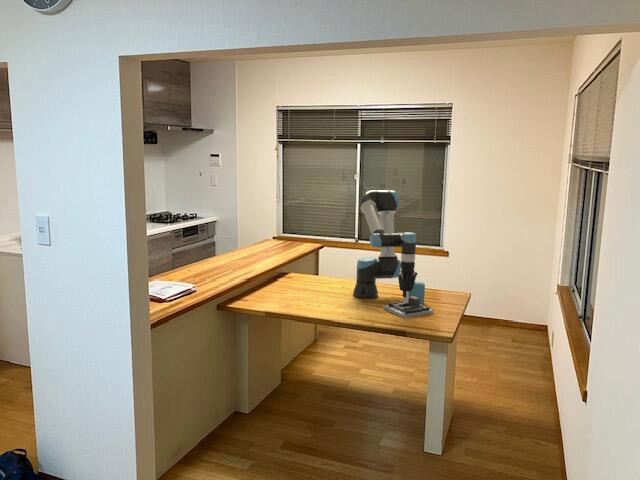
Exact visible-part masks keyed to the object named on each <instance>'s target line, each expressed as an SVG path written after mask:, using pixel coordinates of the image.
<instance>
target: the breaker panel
mask: <svg viewBox="0 0 640 480" xmlns="http://www.w3.org/2000/svg"><path fill="white" fill-rule="evenodd" d="M383 310H385V311H386V312H389V313H392V314H394V315H396V316H398V317H400V318H402V319H408V318H413V317H419V316H420V317H421V316H425V315H426V316H427V315H430V314H433V313H434V309H432V308H431V307H430V306H425V305H424V304H420V305H417V306H411V307H410V306H408V303H404V302H403V300H402V301H396V302H390V303H388V304H387V305H384V306H383Z"/></svg>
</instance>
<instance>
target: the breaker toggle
mask: <svg viewBox="0 0 640 480" xmlns="http://www.w3.org/2000/svg"><path fill="white" fill-rule="evenodd" d="M417 305H420V298H417V297H415V296H411V297H409V301H408V306H410V307H411V306H417Z"/></svg>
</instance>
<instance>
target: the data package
mask: <svg viewBox="0 0 640 480" xmlns="http://www.w3.org/2000/svg"><path fill="white" fill-rule="evenodd" d="M425 293H426V284H425V282H423V281H422V282H419V281H415V283H414V287H413V290H411V292H410V296H409V297H411V296H415V297H417V298H420V304H422V305H424V303H425Z"/></svg>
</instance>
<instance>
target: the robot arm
mask: <svg viewBox="0 0 640 480" xmlns="http://www.w3.org/2000/svg"><path fill="white" fill-rule="evenodd" d="M399 198H400V197H399V195H398V193H397V192H396V191H395V190H391V189H385V190H382V189H381V190H379V189H376V190H375V189H372V190H368V191H366V192H365V193H364V194H362V196H361V197H360V200H359V208H360V211H361V212H362V213H363V215H364V217H365V220H366V222H367V225H368V228H369V231H370V233H371V234H370V236H369V243H370V244H369V245H370V246H371V247H372V248H380V254H379V255H378V257H375V256H364V257H361V258H359V259H358V260H357V263H356V283H355V286H354V289H353V292H352V296H353V297H355V298H359V299H366V300H368V299H369V300H370V299H376V298H378V296H379V291H378V288H377V284H376V282H377V281H376V280H378V279H382V280H383V279H396V278H397V279H398V280H397V281H398V286H399V290H400V291H402V297H403V298H402V301H403V302H404V303H408V301H409V296H410V292H411V290H413V287H414V283H415V282H416V278H417V276H418V272H416V271H415V267H416V262H415V261H416V249H417V247H416V246H417V234H416V233H415V232H412V231H411V232H410V231H408V232H401V231H399V232H397V233H395V217H394V216H395V213H397V210H398V209H399V206H400V199H399ZM395 248H401V255H400V258H398V255H397V254H396V251H395Z"/></svg>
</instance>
